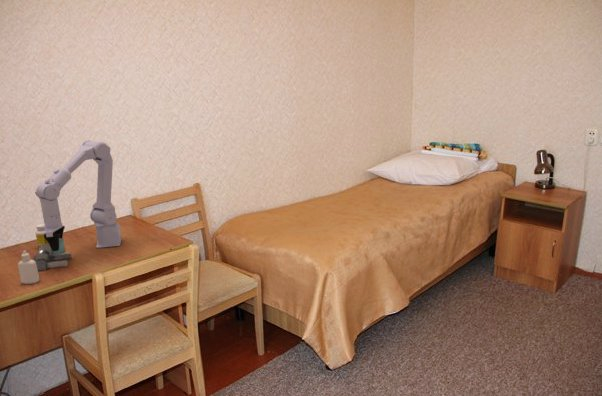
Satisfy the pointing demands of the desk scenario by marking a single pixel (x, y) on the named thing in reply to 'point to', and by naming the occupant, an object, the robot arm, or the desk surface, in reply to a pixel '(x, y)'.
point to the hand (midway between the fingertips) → (57, 247)
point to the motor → (49, 258)
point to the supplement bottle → (41, 235)
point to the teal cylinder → (60, 247)
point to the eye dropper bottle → (28, 269)
